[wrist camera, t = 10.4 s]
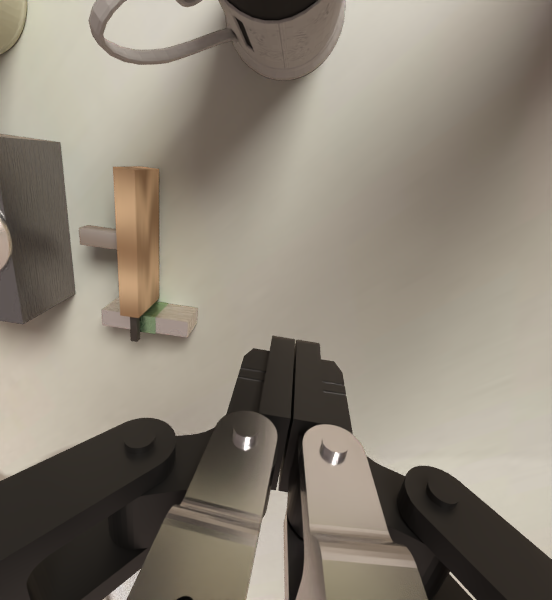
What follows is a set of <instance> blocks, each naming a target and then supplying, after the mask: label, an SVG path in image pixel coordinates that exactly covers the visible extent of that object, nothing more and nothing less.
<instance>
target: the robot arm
mask: <svg viewBox="0 0 552 600" xmlns="http://www.w3.org/2000/svg"><path fill="white" fill-rule="evenodd" d="M294 348H295V349H294ZM279 472H280V477H279ZM278 477H279V490H278V491H284V492H288V502H287V510H286V515H285V519H284V589H285V600H473V599H472V598H471V597H470V596H469V595H468V594H467V593H466V592H465V591H464V590H463V588H462V587H461V586H460V585H459V584H458V583H457V582H456V581H455V580H454V579H453V578H452V577H451V575H450V574H449V572H451V573H452V574H453V575H454V576H455V577H456V578H457V579H458V580H459V581H460V582H461V583H462V584H463V586H464V587H465V588H466V589H467V590H468V591H469V592H470V593H471V594H472V595H473V596H474V597H475V598H476V600H552V559H550V558H549V557H548V556H547V555H546V554H545V553H543V552H542V551H541V550H540V549H539V548H538V547H536V546H535V545H534V544H533V543H532V542H530V541H529V540H528V539H527V538H526V537H525V536H523V535H522V534H521V533H520V532H519V531H517V530H516V529H515V528H514V527H513V526H512V525H510V524H509V523H508V522H507V521H506V520H504V519H503V518H502V517H501V516H500V515H499V514H497V513H496V512H495V511H494V510H493V509H491V508H490V507H489V506H488V505H487V504H486V503H484V502H483V501H482V500H481V499H480V498H478V497H477V496H476V495H475V494H474V493H473V492H471V491H470V490H469V489H468V488H467V487H465V486H464V485H463V484H462V483H461V482H460V481H458V480H457V479H456V478H454V477H453V476H451V475H450V474H448V473H446V472H444V471H442V470H440V469H437V468H434V467H430V466H417V467H414V468H412V469H410V470H409V471H408V473H407V474H406V476H403V475H401V474H399V473H397V472H394V471H392V470H390V469H388V468H385V467H383V466H381V465H379V464H377V463H376V462H374V461H373V460H371V459H370V458H369V457H367V456H366V453H365V450H364V448H363V446H362V444H361V442H360V441H359V440H358V439H357V438H356V437H355V436H354V435H353V433H352V427H351V421H350V415H349V409H348V404H347V398H346V392H345V386H344V380H343V374H342V372H341V370H340V369H339V368H338V366H337V365H336V364H335V362H333V361H327V360H321V356H320V344H319V343H314V342H308V341H302V340H296V344H295V339H289V338H283V337H277V336H272V341H271V347H270V351H266V350H260V349H254V348H253V349H252V350H251V351H250V352H249V353H247V354H246V355H245V356H244V358H243V362H242V365H241V369H240V371H239V375H238V378H237V381H236V385H235V388H234V391H233V394H232V398H231V401H230V404H229V408H228V411H227V414H226V416H224V417H223V418H221V419H220V420H219V422H218V423H217V425H216V427H215V428H213V429H211V430H209V431H206V432H203V433H200V434H193V435H183V436H175V433H174V430H173V429H172V428H171V426H169V425H168V424H167V423H165V422H164V421H161V420H159V419H154V418H139V419H134V420H130V421H128V422H125V423H123V424H121V425H119V426H117V427H114V428H112V429H110V430H108V431H106V432H104V433H102V434H100V435H97V436H95V437H93V438H91V439H89V440H87V441H85V442H83V443H80V444H78V445H76V446H74V447H72V448H70V449H68V450H66V451H63V452H61V453H59V454H57V455H55V456H53V457H51V458H49V459H47V460H44V461H42V462H40V463H38V464H36V465H34V466H32V467H30V468H27V469H25V470H23V471H21V472H19V473H17V474H15V475H13V476H10V477H8V478H6V479H4V480H2V481H0V600H103V599H104V598H105V597H106V596H107V595H109V594H110V593H111V592H112V591H114V590H115V589H116V588H117V587H119V586H120V585H121V584H122V583H124V582H125V581H126V580H127V579H128V578H130V577H131V576H132V575H133V574H135V573H136V572H137V571H138V570H140V569H141V570H140V572H139V574H138V576H137V578H136V581H135V583H134V585H133V587H132V589H131V591H130V593H129V596H128V598H127V600H246V598H247V593H248V588H249V583H250V577H251V572H252V567H253V562H254V557H255V552H256V547H257V542H258V537H259V532H260V527H261V522H262V518H263V517H264V515H265V513H266V510H267V505H268V500H269V495H270V490H276V487H277V482H278Z"/></svg>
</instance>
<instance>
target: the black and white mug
mask: <svg viewBox="0 0 552 600" xmlns="http://www.w3.org/2000/svg"><path fill="white" fill-rule="evenodd" d="M125 1H127V0H96V2H95V3H94V5H93V7H92V10H91V13H90V17H89V24H90V29H91V33H92V35H93V37H94V39H95V40H96V42H97V43H98V45H99V46H101V47H102V48H103V49H104V50H105V51H106V52H107V53H108V54H109V55H111V56H113V57H115V58H117V59H119V60H122V61H124V62H128V63H134V64H139V65H146V64H162V63H169V62H172V61H175V60H179V59H181V58H184V57H187V56H190V55H193V54H196V53H198V52H201V51H203V50H206V49H209V48H211V47H214V46H217V45H219V44H222V43H225V42H228V41H232V43H233V45H234V47H235V49H236V51H237V52H238V54H239V55H240V57H241V58H242V59H243V61H244V62H245V63H246V64H247V65H248V66H249V67H250V68H252V69H253V70H254V71H256V72H257V73H259V74H261V75H263V76H265V77H267V78H271V79H275V80H292V79H297V78H299V77H302V76H305V75H307V74H308V73H310V72H312V71H314V70H315V69H316V68H317V67H318V66H320V65H321V64H322V63H323V62H324V61H325V59H326V58H327V57H328V56H329V55H330V53H331V52H332V50H333V48H334V46H335V45H336V43H337V41H338V38H339V36H340V33H341V30H342V26H343V22H344V17H345V7H346V3H345V0H219V3H220V5H221V7H222V9H223V11H224V13H225V15H226V22H227V28H226V29H222V30H219V31H216V32H213V33H210V34H207V35H204V36H202V37H199V38H196V39H194V40H191V41H188V42H185V43H182V44H178V45H175V46H171V47H168V48H164V49H154V50H135V49H130V48H126V47H121V46H119V45H117V44H115V43H113V42H111V41H109V40H107V39H105V38H104V36H103V33H104V30H105V27H106V24H107V22H108V21H109V19H110V18H111V16H112V15H113V13H114V12H115V11H116V10H117V9H118V8H119V7H120V6H121V4H122V3H123V2H125ZM176 1H177V2H178V3H179V4H180V5H182V6H184V7H190V6H194V5H196V4H197V3H199V2H201V1H202V0H176Z"/></svg>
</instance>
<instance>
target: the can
mask: <svg viewBox="0 0 552 600" xmlns="http://www.w3.org/2000/svg"><path fill="white" fill-rule="evenodd" d="M26 12H27V0H0V54H3V53H4V52H6V51H7V50H9V49H10V48H11V47H12V46H13V45H14V44H15V42H16V41H17V40H18V38H19V36H20V34H21V32H22V30H23V27H24V23H25V19H26Z"/></svg>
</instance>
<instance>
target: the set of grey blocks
mask: <svg viewBox="0 0 552 600" xmlns="http://www.w3.org/2000/svg"><path fill="white" fill-rule="evenodd" d="M74 294H75V285H74V275H73V265H72V255H71V245H70V235H69V225H68V215H67V205H66V195H65V185H64V176H63V166H62V156H61V146H60V142H54V141H47V140H40V139H33V138H26V137H19V136H12V135H5V134H0V321H5V322H12V323H19V324H24V323H26V322H28V321H29V320H31V319H33V318H35V317H36V316H38V315H40V314H42V313H43V312H45V311H47V310H48V309H50V308H52V307H54V306H55V305H57V304H59V303H60V302H62V301H64V300H66V299H67V298H69V297H71V296H72V295H74ZM197 316H198V308H195V307H188V306H181V305H174V304H168V303H163V302H157V301H156V302H155V303H154V304H153V305H152V306H151V307H150V308H149V309H148V310H147V311H146V312H144V313H143V314H142V315H141V316H140V332H146V333H153V334H155V333H160V334H167V335H173V336H180V337H188V336H189V334H190V333H191V331H192V330H193V328H194V326H195V325H196V323H197ZM102 324H103V325H105V326H112V327H119V328H125V329H130V317H127V316H120V299H119V297H118V298H116V299H115V300H114V301H112V302H111V303H110V304H108V305H107V306H106V307H104V308H103V309H102Z"/></svg>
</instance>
